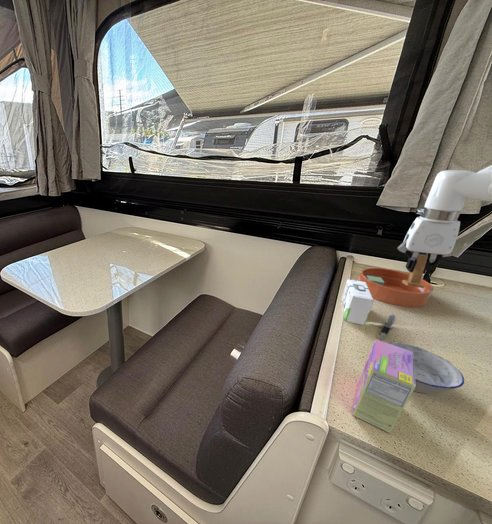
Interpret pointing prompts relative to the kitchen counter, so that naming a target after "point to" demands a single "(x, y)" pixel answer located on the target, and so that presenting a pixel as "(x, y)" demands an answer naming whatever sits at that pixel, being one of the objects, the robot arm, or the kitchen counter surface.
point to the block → (376, 280)
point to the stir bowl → (396, 288)
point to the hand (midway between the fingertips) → (415, 270)
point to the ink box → (356, 302)
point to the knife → (386, 327)
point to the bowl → (432, 371)
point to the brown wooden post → (417, 272)
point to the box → (384, 385)
